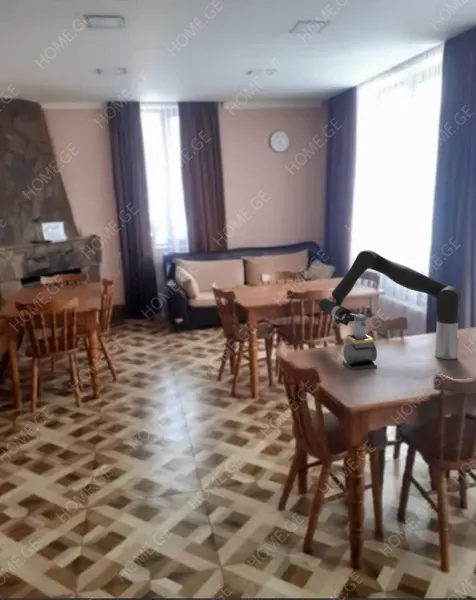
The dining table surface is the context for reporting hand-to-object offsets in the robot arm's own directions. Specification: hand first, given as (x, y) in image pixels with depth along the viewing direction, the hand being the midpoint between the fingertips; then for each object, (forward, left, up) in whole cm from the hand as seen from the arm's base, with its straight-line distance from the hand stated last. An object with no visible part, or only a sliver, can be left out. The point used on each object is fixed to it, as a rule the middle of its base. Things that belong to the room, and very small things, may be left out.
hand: (356, 322), depth 231 cm
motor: (-2, +4, -19) cm, 20 cm away
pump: (-2, +4, -7) cm, 8 cm away
